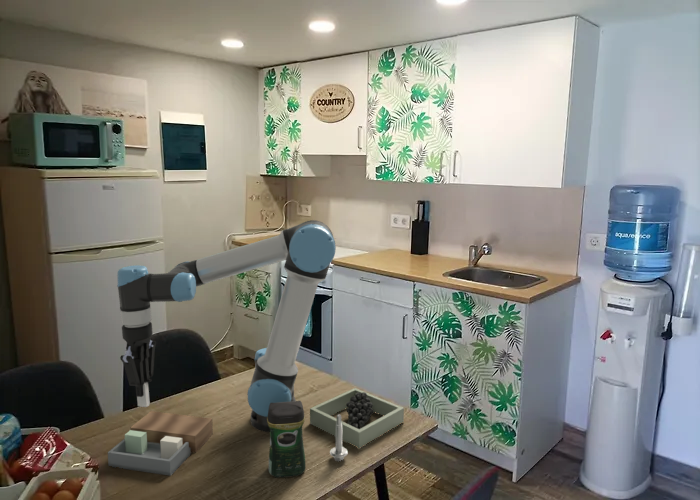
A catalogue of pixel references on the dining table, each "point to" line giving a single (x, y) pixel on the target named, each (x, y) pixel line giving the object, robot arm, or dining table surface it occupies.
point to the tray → (148, 458)
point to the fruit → (359, 410)
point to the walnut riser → (175, 428)
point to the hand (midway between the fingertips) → (143, 405)
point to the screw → (338, 442)
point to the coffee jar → (286, 439)
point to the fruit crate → (350, 434)
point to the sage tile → (136, 442)
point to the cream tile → (170, 446)
